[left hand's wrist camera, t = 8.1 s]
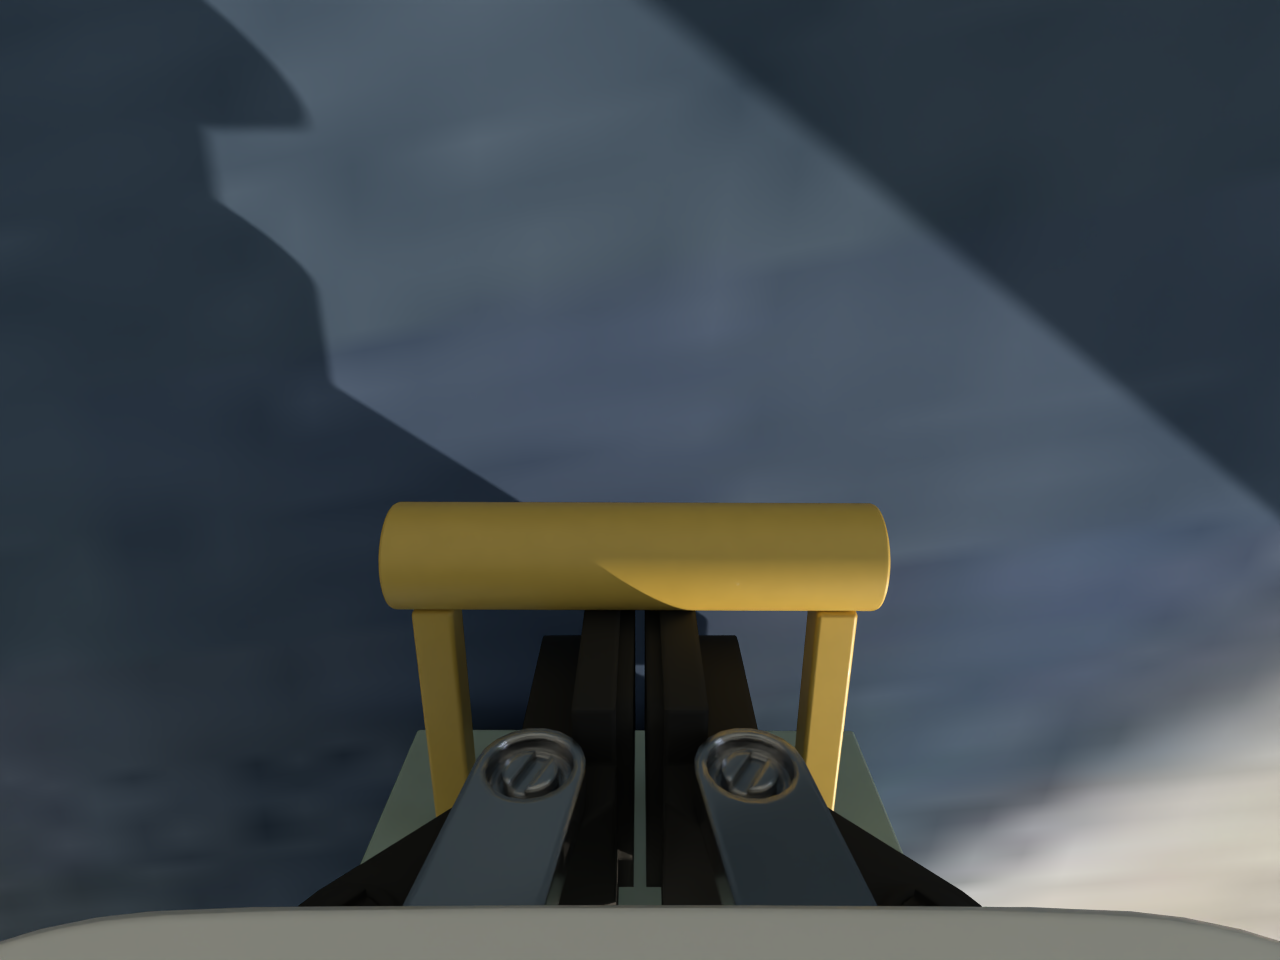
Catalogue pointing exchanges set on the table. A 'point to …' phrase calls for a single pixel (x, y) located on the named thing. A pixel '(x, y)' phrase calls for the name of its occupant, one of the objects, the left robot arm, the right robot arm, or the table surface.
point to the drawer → (630, 580)
